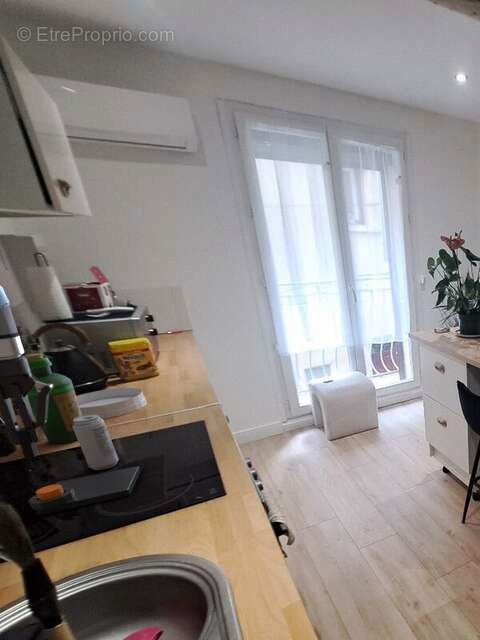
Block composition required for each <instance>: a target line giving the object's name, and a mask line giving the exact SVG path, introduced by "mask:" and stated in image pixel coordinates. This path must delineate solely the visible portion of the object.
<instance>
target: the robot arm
mask: <svg viewBox="0 0 480 640" xmlns="http://www.w3.org/2000/svg"><path fill="white" fill-rule="evenodd" d="M10 303H11V302H10V299H9V297H7V294H6V292H5V290H4V287H3V286H2V285H1V284H0V414H1V417H2V418H1V417H0V432H7V433H8V434H9V438H10V440H11V442H12V444H13V445H14V446H17V445H20V448H21V451H22V454H23V457H24V459H26V460H27V459H32V458H36V457H37V456H38V454H39V451H38V448H37V445H36V443H38V442H39V441H40V439H41V437H40V434H39V430H38V428H41V426H44V425H45V423H46V422H47V416H48V402H49V392H50V391H51V390H52V388H53V386H54V385H53V384H51V383H48V384H46V383H42V382H39V381H37V379H36V378H35V377H34V376H33V375H32V374H31V371H30V368H29V365H28V361H27V357H26V355H23V354H24V353H25V349H24V346H23V343H22V340H21V336H20V334H19V331H18V327H17V324H16V321H15V318H14V315H13V312H12V308H11V305H10ZM34 386H35V387H36V391H37V392H40V393H39V395H38V406H37V420H36V418H35V416H34V414H33V412H32V409H31V407H30V404H29V401H28V395H27V394H28V393H29V392H30V391H31V389H32V388H33V387H34ZM11 399H13V401H14V403H15V404H16V406H17V409H18V412H19V415H20V418H21V420H22V423H23V426H24V427H20V426H21V424H19V422H18V419H17V416H16V413H15V410H14V407H13V404H12V401H11Z"/></svg>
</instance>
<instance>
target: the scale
mask: <svg viewBox="0 0 480 640" xmlns="http://www.w3.org/2000/svg"><path fill="white" fill-rule="evenodd" d="M141 472H142V471H141V468H140V466H139V465H137V466H132V467H127V468H122V469H116V470H111V471H106V472H101V473H95V474H90V475H86V476H82V477H81V476H80V477H76V478H71V479H66V480H60V481H56V482H55V484H59V485H61V486H62V489H63V491H64V494H62V495H60V496H58V497H55V498H52V499H48V500H39V498H38V496H37V494H35V495H34V496H31V497H30V499H29V500H28V504H29V505H30V507H31V508H32V509H33V510H34V511H35V512H36V515H37V516H43V515H47V514H51V513H52V514H53V513H56V512H61V511H65V510H69V509H75V508H78V507H83V506H88V505H93V504H97V503H100V502H106V501H109V500H115V499H119V498H123V497H128V496H131V493H132V491H133V489H134V487H135V485H136V483H137V480H138V478H139V476H140V474H141Z"/></svg>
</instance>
